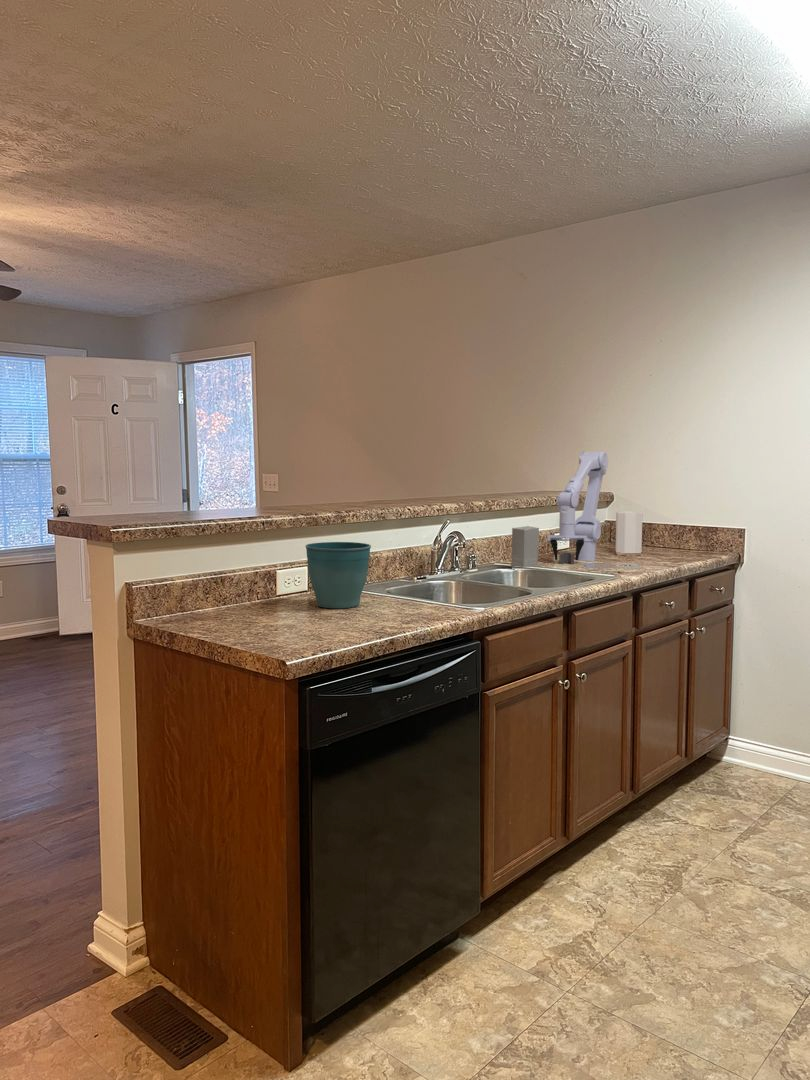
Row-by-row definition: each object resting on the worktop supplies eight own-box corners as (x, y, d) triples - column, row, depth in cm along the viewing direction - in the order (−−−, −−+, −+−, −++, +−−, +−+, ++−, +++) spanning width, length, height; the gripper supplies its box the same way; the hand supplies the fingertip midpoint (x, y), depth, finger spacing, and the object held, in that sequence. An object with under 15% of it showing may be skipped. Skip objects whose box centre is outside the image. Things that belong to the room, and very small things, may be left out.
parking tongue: (554, 566, 308) (554, 562, 308) (575, 566, 308) (575, 562, 307) (556, 568, 300) (556, 564, 300) (578, 569, 300) (578, 565, 299)
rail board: (581, 567, 305) (581, 562, 305) (635, 567, 304) (635, 563, 303) (586, 572, 292) (586, 567, 291) (643, 572, 290) (643, 568, 290)
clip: (559, 562, 307) (559, 552, 306) (572, 562, 306) (572, 552, 306) (560, 564, 302) (560, 553, 301) (573, 564, 301) (574, 553, 301)
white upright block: (644, 554, 347) (646, 511, 345) (637, 557, 337) (638, 513, 335) (619, 553, 352) (620, 510, 351) (611, 555, 343) (612, 512, 341)
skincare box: (525, 567, 304) (525, 525, 302) (539, 569, 298) (540, 527, 297) (509, 569, 298) (510, 527, 297) (524, 571, 293) (524, 528, 291)
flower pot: (383, 603, 227) (383, 543, 226) (347, 613, 212) (346, 549, 210) (331, 598, 236) (330, 540, 235) (292, 607, 221) (292, 546, 219)
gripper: (548, 524, 299) (547, 561, 300) (588, 524, 298) (587, 561, 299) (546, 523, 306) (546, 558, 307) (585, 523, 305) (584, 559, 306)
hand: (566, 559), depth 304 cm, fingers open, 7 cm apart
